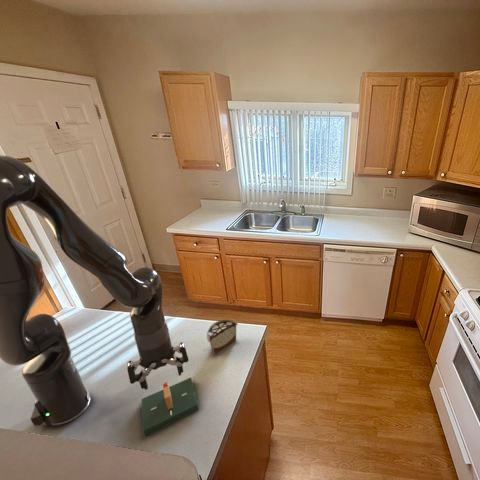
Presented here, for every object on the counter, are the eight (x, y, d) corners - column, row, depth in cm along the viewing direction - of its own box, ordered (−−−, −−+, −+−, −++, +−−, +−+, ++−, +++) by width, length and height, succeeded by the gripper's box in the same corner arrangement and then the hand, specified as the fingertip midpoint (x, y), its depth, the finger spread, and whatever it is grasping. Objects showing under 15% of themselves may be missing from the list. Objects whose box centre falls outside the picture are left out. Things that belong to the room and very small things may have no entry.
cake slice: (230, 332, 109) (228, 314, 105) (239, 340, 105) (237, 321, 101) (203, 349, 100) (199, 329, 96) (211, 358, 96) (208, 338, 92)
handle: (173, 407, 76) (169, 395, 74) (167, 410, 76) (164, 398, 73) (170, 393, 80) (167, 381, 78) (165, 395, 80) (162, 383, 78)
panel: (144, 436, 71) (142, 430, 70) (143, 403, 79) (141, 398, 78) (198, 409, 79) (197, 403, 78) (191, 382, 87) (190, 377, 86)
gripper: (120, 359, 62) (134, 403, 68) (184, 336, 69) (192, 378, 76) (120, 339, 67) (133, 381, 74) (180, 320, 75) (187, 360, 81)
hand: (163, 379), depth 75 cm, fingers open, 8 cm apart
